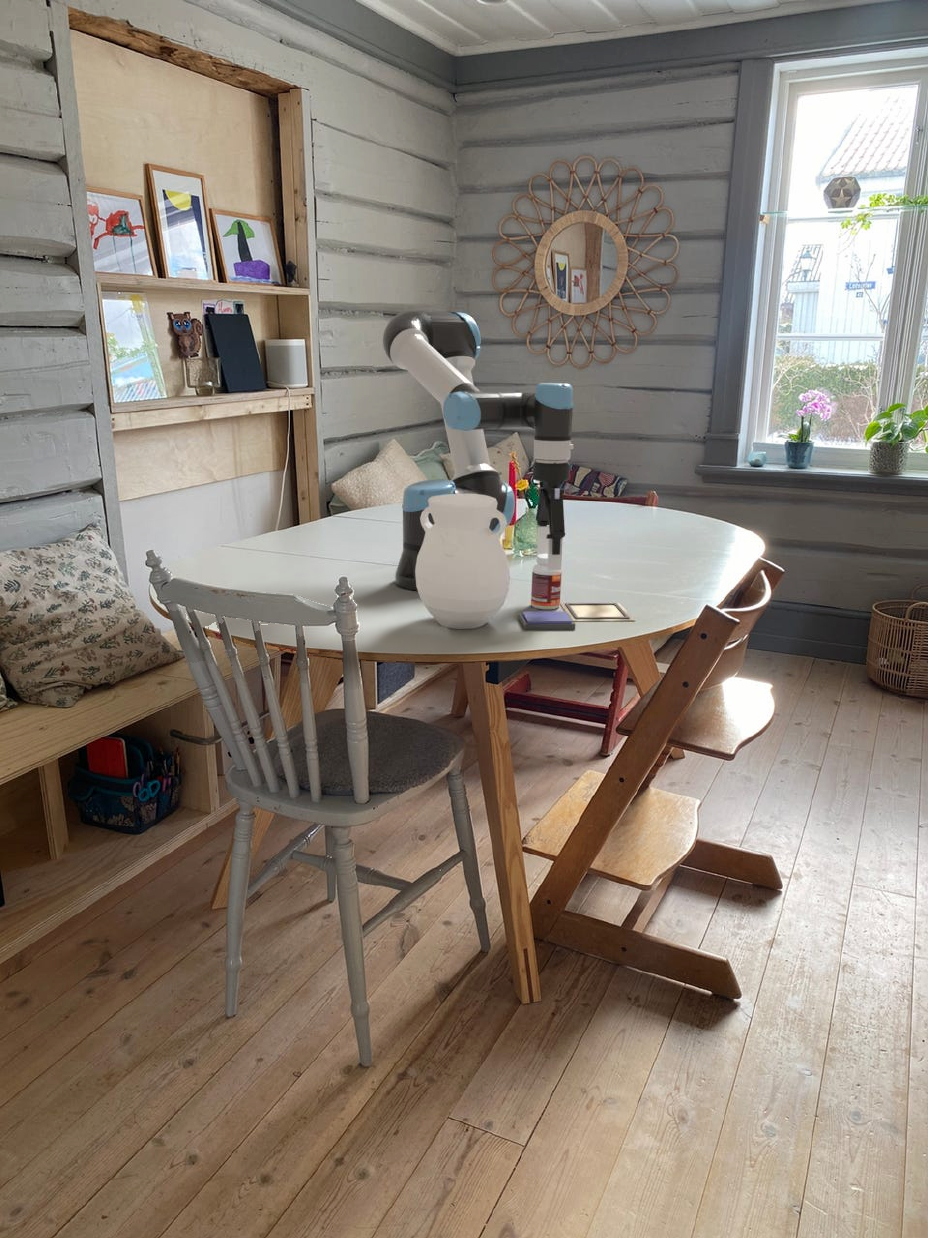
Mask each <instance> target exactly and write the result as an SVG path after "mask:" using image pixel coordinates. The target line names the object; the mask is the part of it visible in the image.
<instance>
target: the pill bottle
mask: <svg viewBox="0 0 928 1238" xmlns="http://www.w3.org/2000/svg"><path fill="white" fill-rule="evenodd" d="M535 561H536V564H535V565H534V566H533V567H532V573H531V575H532V576H531V594H530V595H531V597H530V604H531V606H532V608H535V609H539V610H546V611H548V610H555V609H558V608H559V607H560V606H561V605H560V603H561V593H562V592H561V588H562V574H563V573H562V571H563V570H562V569H561V570H548V569H547V567H548V554H538V555H537V554H536V560H535Z"/></svg>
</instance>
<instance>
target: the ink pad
mask: <svg viewBox="0 0 928 1238" xmlns="http://www.w3.org/2000/svg"><path fill="white" fill-rule="evenodd" d="M518 619H519V621H520V623H521V626H522V627H523V630H525V631H530V630H531V631H536V630H537V631H541V630H542V631H545V630H548V631H549V630H550V631H551V630H555V631H557V630H559V631H560V630H561V631H562V630H566V631H568V630H573V631H574V630H576V622H575V621H573V620H572V619H571V617H570V616H569V614H568V613H566V612H565V611H561V610H559V611H558V610H556V611H554V610H553V611H552V610H551V611H548V610H546V611H542V610H541V611H522V612H518Z"/></svg>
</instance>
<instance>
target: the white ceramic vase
mask: <svg viewBox="0 0 928 1238" xmlns="http://www.w3.org/2000/svg"><path fill="white" fill-rule="evenodd" d="M428 503H429V506H428V507H427V508H426V509H425V510H424V511H423V512H422V514H421V517H420V521H421V525H422V527H423V529H424V530H425V537H424V541H423V544H422V546H421V549H420V551H419V554H418V556H417V562H416V568H415V575H416V587H417V590H416V591H417V592H418V596H419V598H420V602H421V603H422V604H423V606H425V608H426V610H427V612H428V613H429V614H430V615H431V616H432V617H433V618H434V620H436V621H437V623H439V625H440V626H442V627H444V628H449V629H452V630H455V629H456V630H470V629H478V628H480V627H482V626H484V625H485V624H487V623H488V622H489V621H490V620H491V619H493V618H494V616H495V615H497V613H498V612H499V611H500V610H501V609H502V607H503V606H504V604H505V601H506V598H507V596H508V594H509V591H510V580H511V575H510V566H509V560H508V557H507V554H506V551H505V548H504V546H503V545H502V543H501V541H500V538H501V536H502V535H503V533H504V532H505V530H506V529H507V528H506V525H507V521H506V517H505V516H504V515H503V514H502V513H501V512H500V511H498V510H497V503H498V502H497V500H496V499H495V498H493V497H490V496H487V495H480V494H469V493H463V494H446V495H438V496H432V497H431V498H429V500H428ZM429 513H431V515H432V517H433V520H434V523H435V524H434V525H432V524H431V523H430V522H429V519H428V514H429ZM492 518H497V519H498V520H499V522H500V530H499V531H497V532H494V533H493V532H492V531H491V530H490V528H489V526H490V522H491V520H492Z"/></svg>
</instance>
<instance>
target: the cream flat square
mask: <svg viewBox="0 0 928 1238" xmlns="http://www.w3.org/2000/svg"><path fill="white" fill-rule="evenodd" d="M559 606H560V607H562V610H564V611H565V612H566V613H568V614H569V616H570V617H571V619H572V620H573V621H574V622H635V621H636V619H635V618H634V617H633V616H632V615H631V614H630V613H629V612H628V611H627V609H626V608H625V607H624V606H623V605H622V604H621V603H620V602H577V603H576V602H565V603H561V602H560V605H559Z"/></svg>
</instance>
